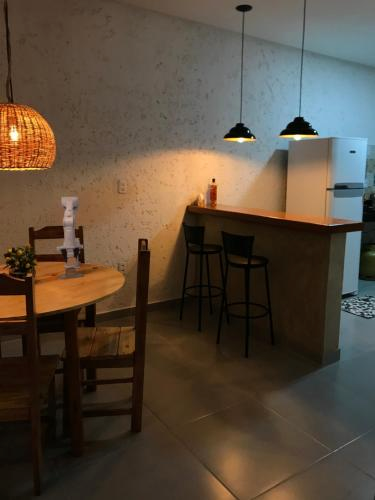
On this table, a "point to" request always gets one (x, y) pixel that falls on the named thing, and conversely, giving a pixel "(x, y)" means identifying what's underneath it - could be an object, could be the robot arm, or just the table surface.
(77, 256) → the robot arm
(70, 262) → the terracotta brick
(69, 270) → the walnut brick
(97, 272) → the table surface
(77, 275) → the baseplate
